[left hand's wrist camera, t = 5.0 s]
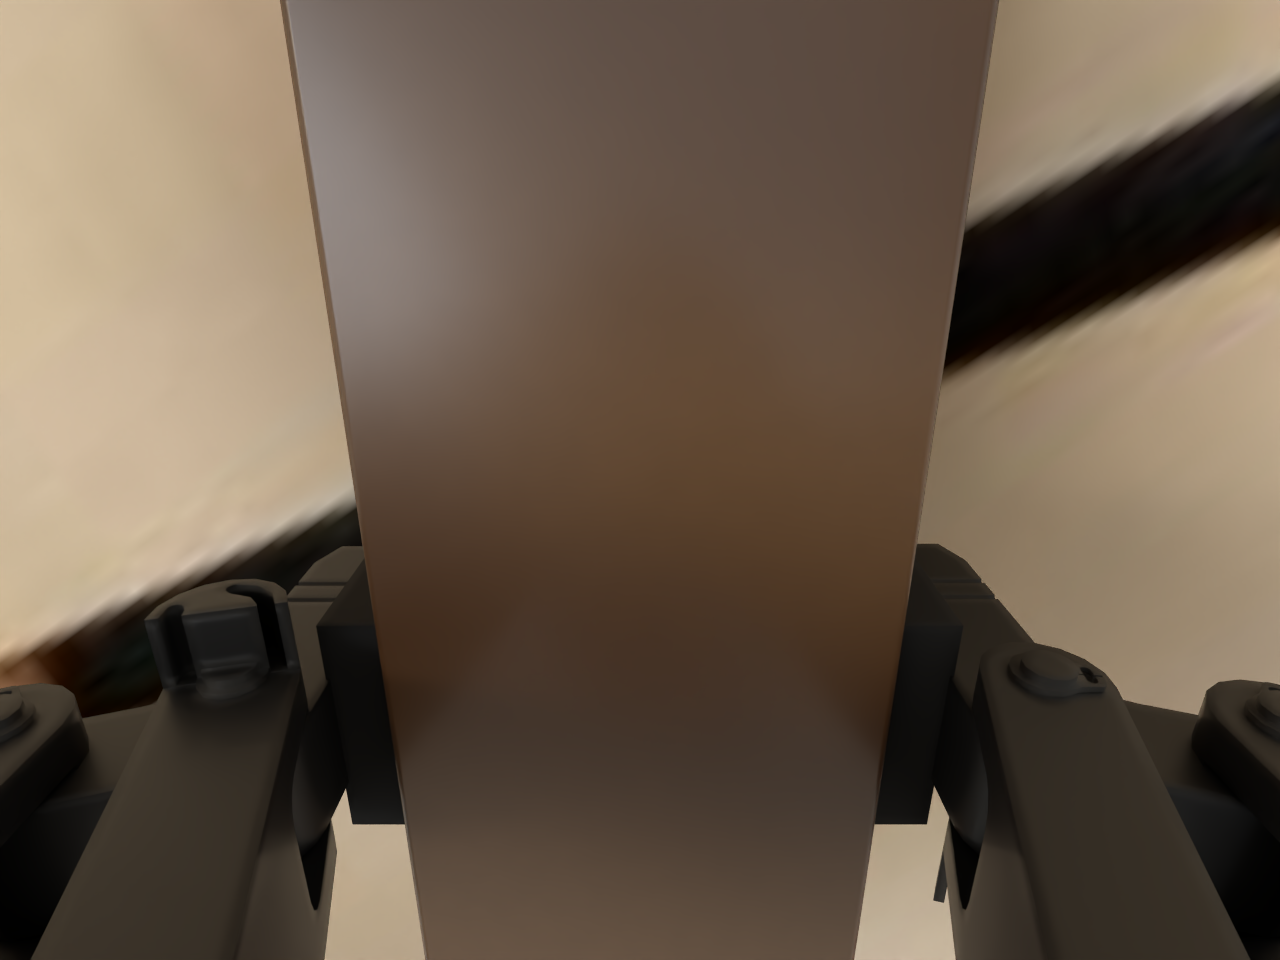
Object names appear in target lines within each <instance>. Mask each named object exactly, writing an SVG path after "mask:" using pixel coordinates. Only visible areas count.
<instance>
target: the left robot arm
mask: <svg viewBox="0 0 1280 960" xmlns="http://www.w3.org/2000/svg"><path fill="white" fill-rule="evenodd" d="M994 596H995V595H994V594H993V593H992V591H991V590H990V589H989V588H988V587H987V586H986V584H985V583H981V578H980V577H979V576H978V575H977V574H976V572H975V571H974V570H973V569H972V568H971V566H970V565H969V564H968V563H967V562H966V560H964V559H962V558H961V557H959V556H957V555H956V554H954V553H952V552H951V551H949V550H947V549H945V548H944V547H942V546H940V545H939V544H917V546H916V553H915V559H914V566H913V572H912V579H911V586H910V592H909V599H908V606H907V612H906V619H905V625H904V632H903V639H902V645H901V652H900V658H899V665H898V672H897V678H896V685H895V692H894V698H893V705H892V711H891V718H890V725H889V731H888V738H887V744H886V751H885V758H884V764H883V771H882V778H881V784H880V791H879V797H878V804H877V811H876V817H875V824H927V821H928V815H929V810H930V804H931V799H932V794H933V788H934V786H935V788H936V790H937V792H938V794H939V796H940V799H941V801H942V803H943V805H944V807H945V809H946V811H947V813H948V815H949V821H948V826H947V831H946V836H945V841H944V846H943V851H942V856H941V861H940V867H939V872H938V877H937V882H936V887H935V893H934V901H938V902H943V903H944V899H945V894H946V889H947V888H948V896H949V905H950V913H951V922H952V930H953V939H954V947H955V956H956V960H1280V685H1278V684H1273V683H1269V682H1255V681H1247V680H1233V681H1225V682H1218V683H1217V684H1215V685H1214V686H1212V687H1211V688H1210V689H1208V690H1207V691H1206V694H1205V697H1204V700H1203V703H1202V706H1201V709H1200V712H1199V715H1194V714H1189V713H1184V712H1179V711H1173V710H1168V709H1163V708H1158V707H1153V706H1147V705H1142V704H1137V703H1133V702H1129V701H1125V700H1123V699H1122V697H1121V695H1120V693H1119V691H1118V689H1117V687H1116V686H1115V685H1114V684H1113V682H1112V681H1111V680H1110V679H1109V678H1108V676H1107V675H1106V674H1105V673H1104V672H1103V671H1101V670H1100V669H1098V668H1097V667H1095V666H1094V665H1092V664H1091V663H1089V662H1088V661H1086V660H1085V659H1083V658H1080V657H1078V656H1076V655H1073V654H1071V653H1068V652H1066V651H1064V650H1061V649H1058V648H1054V647H1049V646H1045V645H1041V644H1036V643H1034V642H1033V640H1032V639H1031V638H1030V637H1029V636H1028V634H1027V633H1026V632H1025V631H1024V630H1023V628H1022V627H1021V626H1020V625H1019V624H1018V622H1017V621H1016V620H1015V619H1014V618H1013V616H1012V615H1011V614H1010V613H1009V612H1008V611H1007V609H1006V608H1005V607H1004V606H1003V605H1002V603H1001V602H1000V601H999V600H998V599H995V597H994ZM144 622H145V626H146V629H147V633H148V636H149V640H150V644H151V647H152V651H153V654H154V658H155V661H156V665H157V668H158V672H159V675H160V679H161V682H162V686H163V690H162V693H161V695H160V697H159V699H158V701H157V703H156V704H152V705H148V706H144V707H140V708H135V709H129V710H124V711H119V712H114V713H109V714H104V715H98V716H93V717H88V718H83V719H82V717H81V714H80V711H79V708H78V705H77V702H76V699H75V696H74V694H73V693H71V692H70V691H69V690H67V689H66V688H64V687H63V686H59V685H51V684H43V683H38V684H30V685H22V686H10V687H6V688H1V689H0V960H324V958H325V950H326V941H327V932H328V924H329V915H330V907H331V898H332V889H333V881H334V872H335V864H336V855H337V849H336V843H335V836H334V831H333V826H332V821H331V818H332V816H333V814H334V812H335V810H336V808H337V806H338V804H339V801H340V799H341V797H342V795H343V793H344V791H345V789H346V791H347V796H348V802H349V807H350V812H351V818H352V823H353V824H405V821H404V814H403V808H402V801H401V795H400V788H399V781H398V775H397V768H396V762H395V755H394V749H393V742H392V735H391V729H390V722H389V716H388V709H387V702H386V696H385V689H384V683H383V676H382V669H381V663H380V656H379V650H378V643H377V636H376V630H375V623H374V617H373V610H372V603H371V597H370V590H369V584H368V577H367V570H366V564H365V557H364V551H363V546H342V547H340V548H339V549H337V550H335V551H334V552H332V553H330V554H329V555H327V556H325V557H324V558H322V559H320V560H319V561H317V562H315V563H314V564H313V565H312V567H311V568H310V569H309V570H308V571H307V573H306V574H305V575H304V576H303V577H302V579H301V580H300V581H299V586H295V587H294V588H293V589H292V591H291V592H290V593H289V594H288V595H286V591H285V590H284V589H283V588H281V587H280V586H278V585H277V584H276V583H273V582H268V581H263V580H258V579H240V580H228V581H223V582H218V583H213V584H207V585H203V586H201V587H198V588H195V589H192V590H189V591H187V592H184V593H181V594H178V595H177V596H175V597H173V598H171V599H170V600H168V601H166V602H164V603H163V604H161V605H159V606H157V607H156V608H155V609H154V610H153V611H152V612H151V613H150V615H149V616H148V617H147V618H146V619H145V620H144Z"/></svg>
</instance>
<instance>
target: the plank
mask: <svg viewBox="0 0 1280 960" xmlns="http://www.w3.org/2000/svg"><path fill="white" fill-rule="evenodd" d="M280 3H281V10H282V16H283V23H284V30H285V36H286V43H287V49H288V56H289V63H290V69H291V76H292V82H293V89H294V96H295V102H296V109H297V115H298V122H299V129H300V135H301V142H302V148H303V155H304V162H305V168H306V175H307V181H308V188H309V194H310V201H311V208H312V214H313V221H314V227H315V234H316V241H317V247H318V254H319V260H320V267H321V274H322V280H323V287H324V293H325V300H326V307H327V313H328V320H329V326H330V333H331V340H332V346H333V353H334V359H335V366H336V373H337V379H338V386H339V392H340V399H341V406H342V412H343V419H344V425H345V432H346V439H347V445H348V452H349V458H350V465H351V471H352V478H353V485H354V491H355V498H356V504H357V511H358V518H359V524H360V531H361V537H362V544H363V551H364V557H365V564H366V570H367V577H368V584H369V590H370V597H371V603H372V610H373V617H374V623H375V630H376V636H377V643H378V650H379V656H380V663H381V669H382V676H383V683H384V689H385V696H386V702H387V709H388V716H389V722H390V729H391V735H392V742H393V749H394V755H395V762H396V768H397V775H398V781H399V788H400V795H401V801H402V808H403V814H404V821H405V828H406V834H407V841H408V847H409V854H410V861H411V867H412V874H413V880H414V887H415V894H416V900H417V907H418V913H419V920H420V927H421V933H422V940H423V946H424V953H425V960H854V956H855V950H856V943H857V936H858V930H859V923H860V916H861V910H862V903H863V897H864V890H865V883H866V877H867V870H868V864H869V857H870V850H871V844H872V837H873V830H874V824H875V817H876V811H877V804H878V797H879V791H880V784H881V778H882V771H883V764H884V758H885V751H886V744H887V738H888V731H889V725H890V718H891V711H892V705H893V698H894V692H895V685H896V678H897V672H898V665H899V658H900V652H901V645H902V639H903V632H904V625H905V619H906V612H907V606H908V599H909V592H910V586H911V579H912V572H913V566H914V559H915V553H916V546H917V539H918V533H919V526H920V520H921V513H922V506H923V500H924V493H925V486H926V480H927V473H928V467H929V460H930V453H931V447H932V440H933V434H934V427H935V420H936V414H937V407H938V401H939V394H940V387H941V381H942V374H943V367H944V361H945V354H946V348H947V341H948V334H949V328H950V321H951V315H952V308H953V301H954V295H955V288H956V281H957V275H958V268H959V262H960V255H961V248H962V242H963V235H964V229H965V222H966V215H967V209H968V202H969V195H970V189H971V182H972V176H973V169H974V162H975V156H976V149H977V143H978V136H979V129H980V123H981V116H982V109H983V103H984V96H985V90H986V83H987V76H988V70H989V63H990V57H991V50H992V43H993V37H994V30H995V23H996V17H997V10H998V4H999V0H280Z"/></svg>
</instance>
